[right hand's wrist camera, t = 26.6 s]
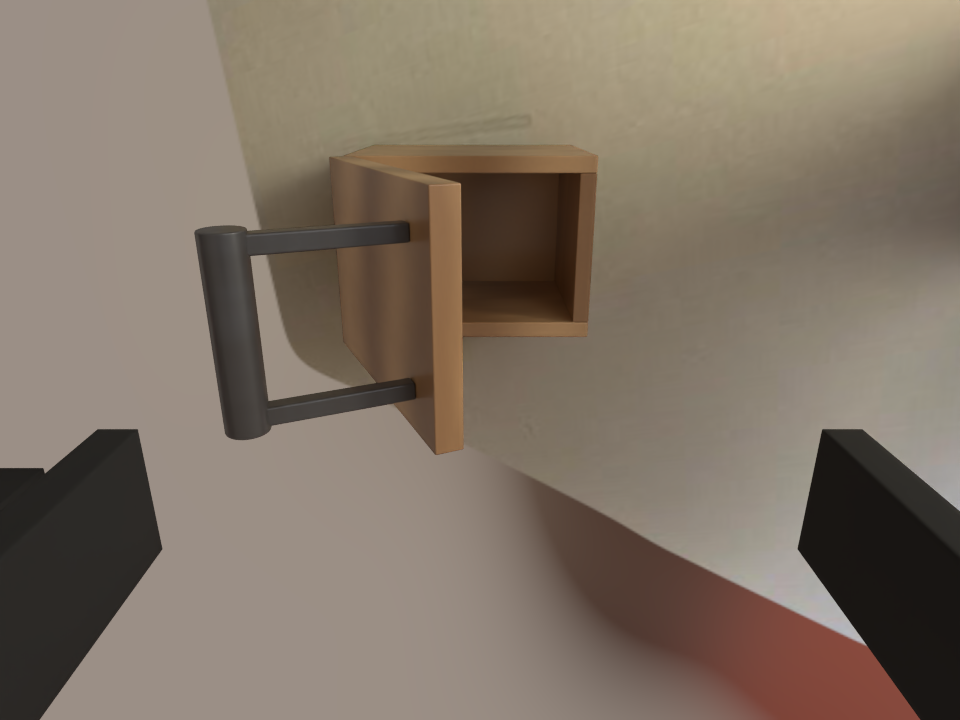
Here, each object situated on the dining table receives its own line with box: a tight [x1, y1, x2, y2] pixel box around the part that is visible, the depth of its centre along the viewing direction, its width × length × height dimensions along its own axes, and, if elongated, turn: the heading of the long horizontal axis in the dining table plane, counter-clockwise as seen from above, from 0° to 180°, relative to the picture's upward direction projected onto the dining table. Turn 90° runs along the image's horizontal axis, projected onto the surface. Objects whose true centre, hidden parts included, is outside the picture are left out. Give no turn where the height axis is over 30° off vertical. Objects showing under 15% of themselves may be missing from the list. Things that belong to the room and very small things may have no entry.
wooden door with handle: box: [195, 156, 463, 455], centre depth 27 cm, size 14×10×8 cm
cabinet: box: [345, 145, 598, 337], centre depth 40 cm, size 13×10×10 cm
